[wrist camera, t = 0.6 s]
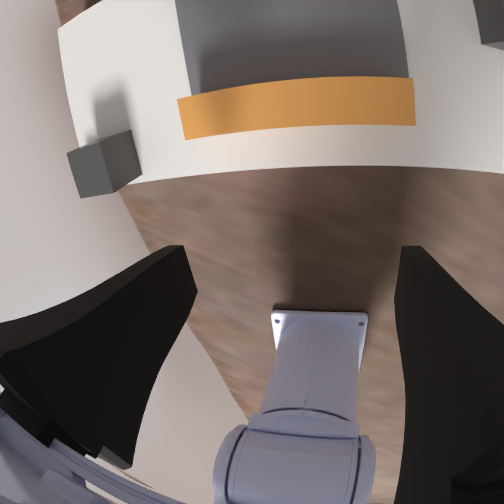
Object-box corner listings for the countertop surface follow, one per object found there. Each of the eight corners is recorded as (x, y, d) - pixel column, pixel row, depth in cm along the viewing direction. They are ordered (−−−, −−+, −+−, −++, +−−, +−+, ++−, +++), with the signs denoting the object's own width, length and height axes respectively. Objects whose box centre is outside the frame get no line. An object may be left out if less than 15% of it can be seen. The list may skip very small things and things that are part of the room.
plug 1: (131, 129, 16) (99, 142, 13) (142, 174, 17) (113, 192, 15) (84, 144, 17) (54, 158, 15) (96, 183, 19) (67, 200, 16)
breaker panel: (520, 164, 13) (544, 179, 10) (116, 176, 22) (91, 191, 19) (504, -16, 6) (526, -25, 4) (85, 29, 15) (56, 29, 12)
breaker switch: (403, 118, 12) (415, 126, 10) (205, 130, 15) (185, 140, 13) (400, 78, 11) (413, 78, 9) (198, 95, 14) (176, 99, 12)
